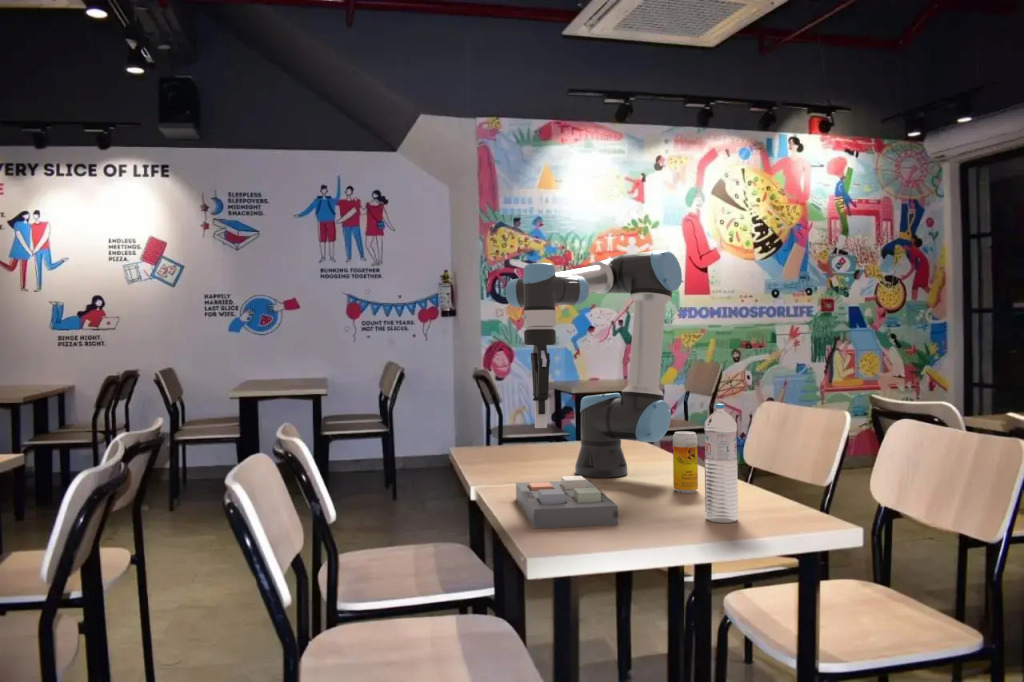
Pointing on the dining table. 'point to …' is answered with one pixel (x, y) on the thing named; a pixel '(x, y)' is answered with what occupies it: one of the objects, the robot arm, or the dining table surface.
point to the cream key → (573, 482)
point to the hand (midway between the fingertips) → (540, 427)
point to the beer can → (685, 462)
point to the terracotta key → (540, 486)
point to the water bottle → (721, 467)
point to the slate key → (551, 496)
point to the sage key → (587, 495)
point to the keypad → (565, 509)
